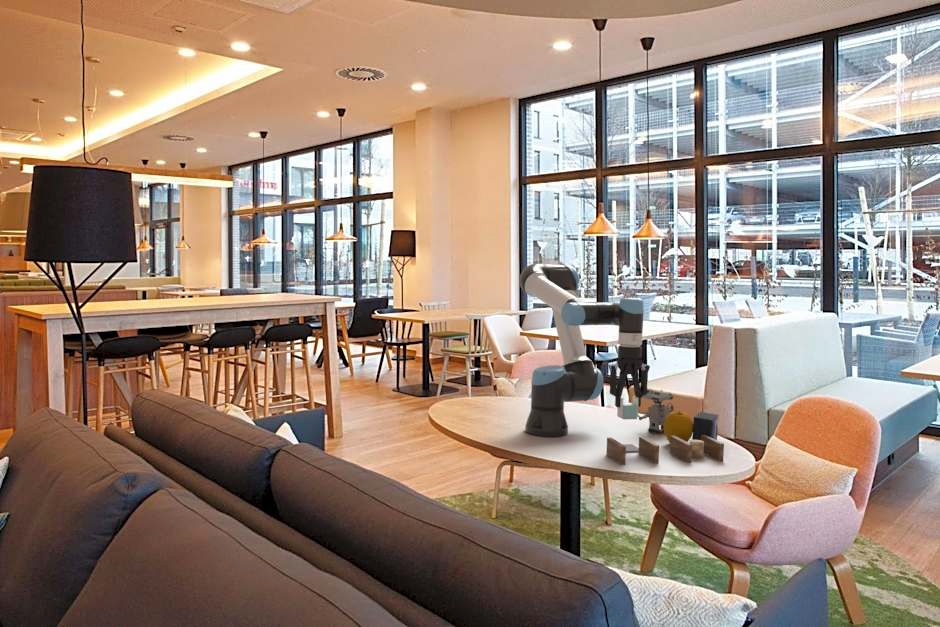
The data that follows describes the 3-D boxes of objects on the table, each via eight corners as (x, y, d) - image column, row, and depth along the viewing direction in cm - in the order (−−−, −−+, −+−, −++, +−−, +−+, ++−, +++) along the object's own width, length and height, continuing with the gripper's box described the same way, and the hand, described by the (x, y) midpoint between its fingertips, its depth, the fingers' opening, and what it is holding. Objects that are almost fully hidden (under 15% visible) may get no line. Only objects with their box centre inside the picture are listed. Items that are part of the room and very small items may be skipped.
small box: (711, 451, 225) (712, 419, 224) (691, 447, 229) (692, 416, 228) (718, 444, 234) (719, 413, 234) (698, 441, 238) (699, 411, 237)
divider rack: (620, 464, 207) (621, 446, 206) (606, 454, 217) (607, 437, 217) (723, 460, 214) (724, 443, 213) (704, 451, 224) (705, 434, 224)
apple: (675, 449, 225) (676, 414, 224) (656, 442, 234) (657, 408, 233) (698, 447, 229) (700, 412, 228) (679, 440, 238) (680, 406, 237)
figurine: (649, 425, 259) (651, 386, 258) (675, 432, 250) (677, 391, 249) (634, 429, 253) (636, 388, 252) (661, 435, 244) (663, 393, 243)
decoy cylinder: (693, 459, 215) (694, 443, 215) (686, 455, 219) (686, 439, 219) (705, 458, 216) (706, 442, 216) (698, 454, 220) (699, 439, 220)
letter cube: (618, 416, 225) (618, 402, 225) (630, 416, 226) (631, 402, 226) (624, 419, 221) (624, 405, 221) (636, 419, 222) (637, 405, 222)
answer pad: (619, 452, 220) (619, 451, 220) (609, 446, 228) (609, 444, 228) (642, 452, 221) (642, 450, 221) (631, 445, 229) (631, 444, 229)
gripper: (609, 347, 217) (606, 419, 218) (660, 346, 220) (657, 418, 222) (600, 344, 224) (597, 414, 226) (649, 344, 228) (647, 413, 229)
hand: (627, 416), depth 224 cm, fingers closed on letter cube, 4 cm apart
